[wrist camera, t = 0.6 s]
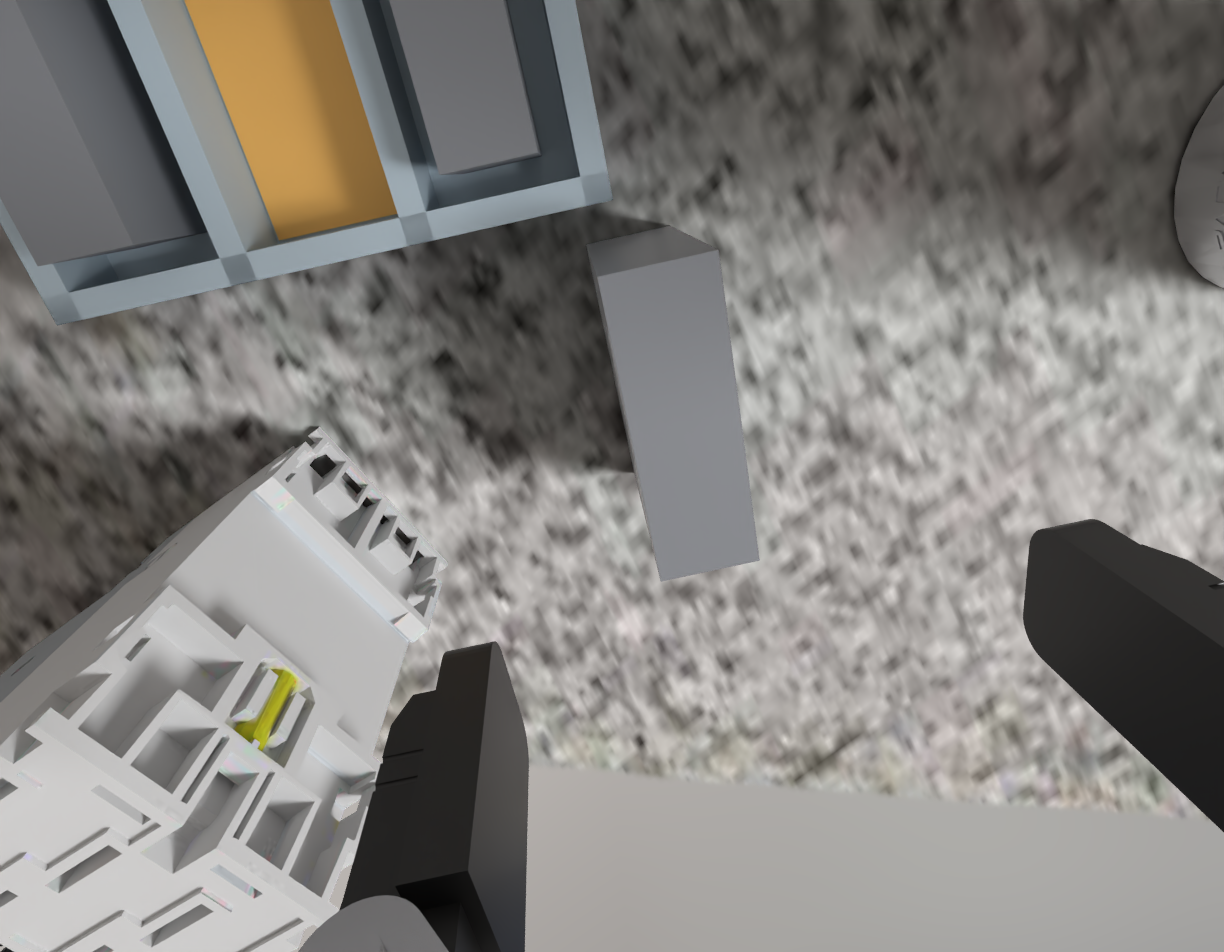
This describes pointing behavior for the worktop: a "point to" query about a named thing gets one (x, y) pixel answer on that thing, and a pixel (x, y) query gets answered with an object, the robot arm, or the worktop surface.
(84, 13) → the rack
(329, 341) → the worktop surface
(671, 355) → the rectangular block
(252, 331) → the worktop surface
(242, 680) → the circuit breaker
